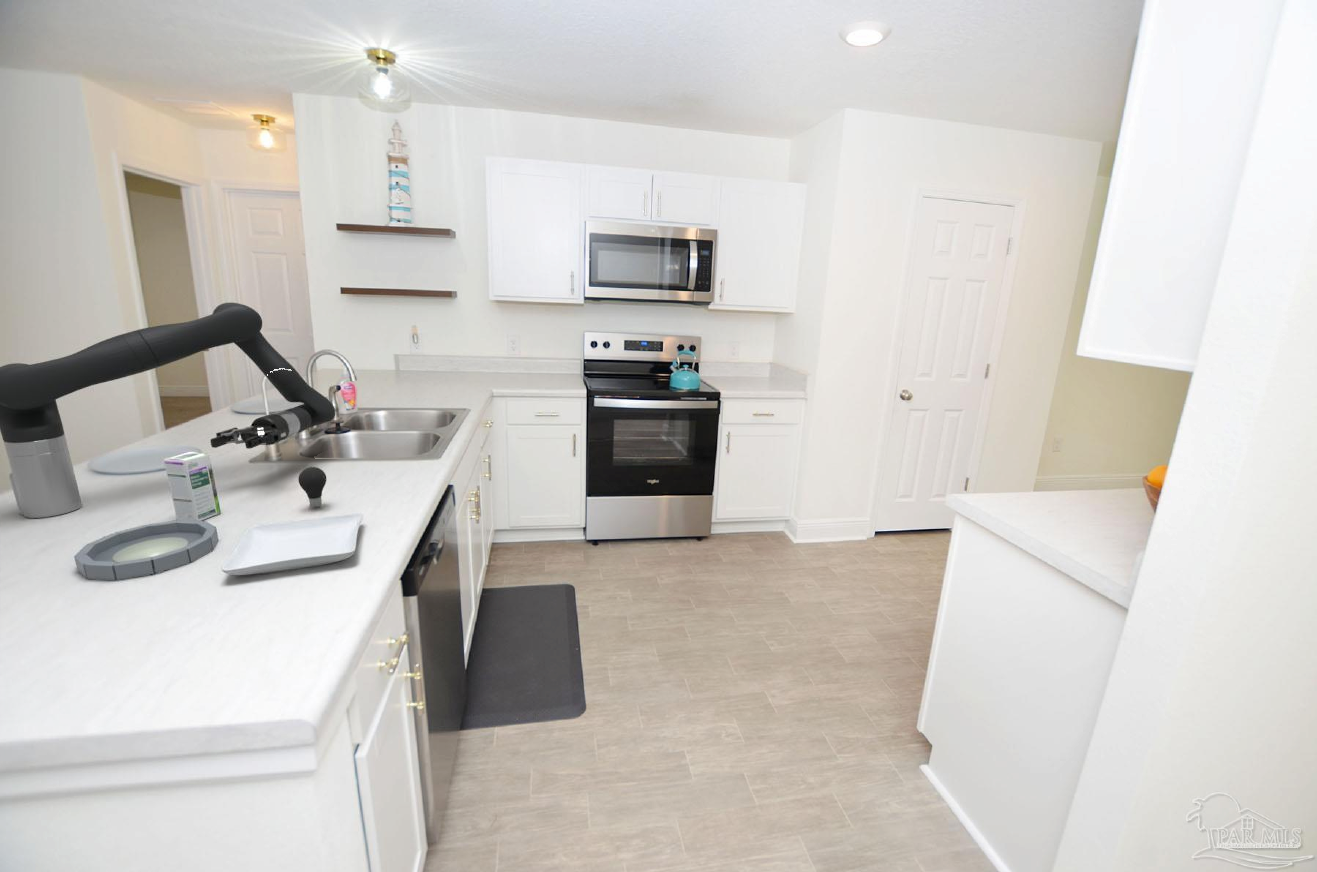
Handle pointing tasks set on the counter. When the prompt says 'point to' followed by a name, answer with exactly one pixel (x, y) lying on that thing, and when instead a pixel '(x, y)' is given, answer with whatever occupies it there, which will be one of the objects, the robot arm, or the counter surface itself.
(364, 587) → the counter surface
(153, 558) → the round tray
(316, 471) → the light bulb
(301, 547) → the salad plate
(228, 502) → the counter surface
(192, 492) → the syrup box
